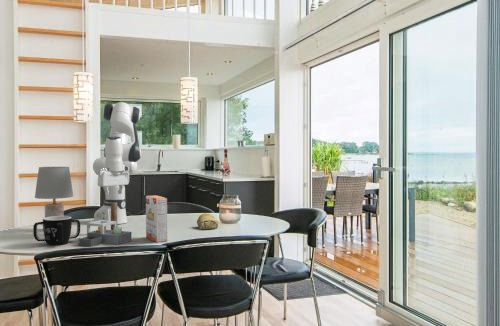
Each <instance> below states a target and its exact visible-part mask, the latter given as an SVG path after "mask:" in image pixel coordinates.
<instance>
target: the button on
mask: <svg viewBox="0 0 500 326" xmlns="http://www.w3.org/2000/svg"><path fill="white" fill-rule="evenodd" d="M122 228H123V227H122V226H121V227H120V226H117V227H115V228H114V234H121V233H122V231H123V230H122Z"/></svg>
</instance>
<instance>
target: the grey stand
mask: <svg viewBox="0 0 500 326" xmlns="http://www.w3.org/2000/svg"><path fill="white" fill-rule="evenodd" d="M112 224H113V230H111V229H106V232H104V226H106V227H107V226H111V225H112ZM91 226H93V227H98V226H101V233H100V232H98V229H97V230H93V231H91ZM115 227H118V224H117V221H105V220H99V221H95V222H90V221H89V222H87V223H86V237H88V236H96V237H102V244H110V245H120V244H123V243H126V242H131V241H132V240H133V238H132V236H133V235H132V231H128V230H127V231H125V230H122V233H121V234H114V228H115Z"/></svg>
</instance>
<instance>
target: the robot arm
mask: <svg viewBox="0 0 500 326" xmlns="http://www.w3.org/2000/svg"><path fill="white" fill-rule="evenodd" d="M102 116H103V119H104V120H106V121H109V122H110V126H111V128H110V133H109V136H108V137H106V138H105V139H106V140H105V145H104V148H103V149H104V150H103V152H104V153H103V156H104V157H99V158H98V157H97V158H95V160H94V161H93V163H92V169H93V172H94V173H95V174H96V176H97V186H98V187H99V188H101V187H102V188H103V191H104V195H105V198H104V200H102V206H101V207H100V208H98V209H97V210H96V211H95V212H94V214H93V219H91V220H90V221H89V223H90V222H95V221H99V220H105V221H111V203H112V202H117V225H120V224H121V225H122V224H126V223H128V222H129V221H128V217H127V216H128V215H127V212H126V211H127V210H126V203H127V200H126V199H127V198H126V187H125V186H126V185H129V183H130V176H133V175H135V174H136V173H137V170H138V163H137V162H138V161H139V160H140V159H141V157H142V150H141V149H142V148H141V146H140V142H139V136H138V135H139V134H138V129H137V125H136V124H137V123H138V122H139V121H140V119H141V110H140V108H138V107H137V106H133V105H132V106H131V105H129V104H128V103H126V102H124V101H119V102H117V103H112V102H110V103H106V104H105V105H104V106H103V108H102ZM129 137H130V140H131V141H130V142H129ZM128 142H129V143H128Z"/></svg>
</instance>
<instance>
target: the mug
mask: <svg viewBox="0 0 500 326" xmlns="http://www.w3.org/2000/svg"><path fill="white" fill-rule="evenodd" d="M72 223H76V232H75V234H74V235H71V233H72V225H73V224H72ZM39 225H41V226H42V230H43V236H44V237H43V238H41V237H39V236H38V226H39ZM32 227H33V238H34V240H36V241H37V242H45V243H46V245H49V246H61V245H62V246H63V245H66V244H67V243H69V241H70V240H73V239H77V238H78V237H79V235H80V233H81V221H80V220H79V219H73V218H72V217H71V216H69V215H64V216H52V217H46V218H45V217H43V218H42V221H37V222H35V223H33V226H32Z"/></svg>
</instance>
